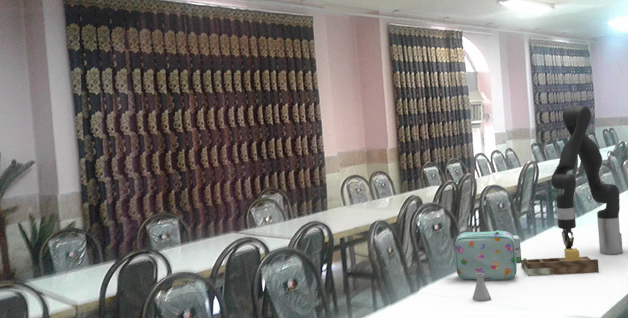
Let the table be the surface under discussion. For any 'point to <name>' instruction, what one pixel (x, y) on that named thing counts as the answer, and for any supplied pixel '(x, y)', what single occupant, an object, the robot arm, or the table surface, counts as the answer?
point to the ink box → (517, 248)
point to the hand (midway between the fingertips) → (568, 254)
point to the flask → (481, 289)
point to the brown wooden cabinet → (559, 266)
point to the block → (571, 254)
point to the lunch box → (486, 255)
